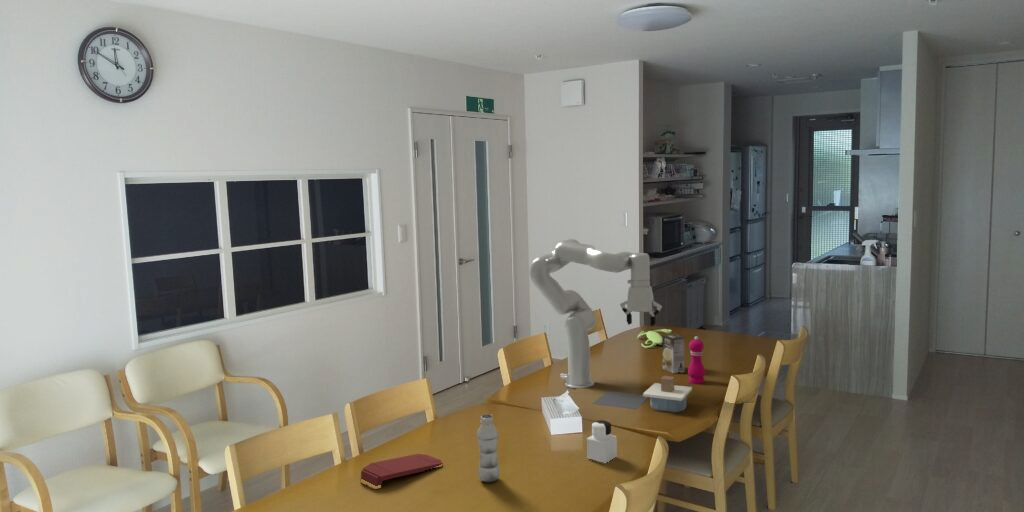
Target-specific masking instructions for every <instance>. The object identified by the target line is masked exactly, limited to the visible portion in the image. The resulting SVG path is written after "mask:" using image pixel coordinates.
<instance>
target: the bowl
mask: <svg viewBox="0 0 1024 512" xmlns="http://www.w3.org/2000/svg"><path fill="white" fill-rule="evenodd" d="M649 404H650V407H651V408H652V409H654V410H657V411H661V412H662V411H663V412H672V413H679V412H683V411H685V409H687V396H686V397H685V398H684V399H683V400H682V401H678V400H670V399H662V398H653V397H649Z"/></svg>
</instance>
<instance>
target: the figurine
mask: <svg viewBox="0 0 1024 512" xmlns="http://www.w3.org/2000/svg"><path fill="white" fill-rule="evenodd" d="M660 333H665V334H672V329H667V328H663V329H662V328H661V329H655V330H648V331H645V330H642V331H640V333H638V335H637V337H636V339H640V338H641V337H643V336H646V337H647V340H646V341H645V342H641V344H640V345H641V347H642V348H643V347H644V349H650V348H652V347H655V346H658V345H659V346H661V345H662V336H661V334H660Z"/></svg>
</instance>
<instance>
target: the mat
mask: <svg viewBox="0 0 1024 512" xmlns="http://www.w3.org/2000/svg"><path fill="white" fill-rule="evenodd" d="M648 398H649V397H645V396H643V394H639V393H630V392H629V393H628V392H621V391H612V390H607V391H606V392H605V393H604V394H602V395H600V396H599V397H598V399H596V400H594V401H593V402H592V403H591V404H592V405H597V406H598V405H599V406H605V407H612V408H613V407H615V408H623V409H629V410H637V409H638V408H639V407H640V406H641V405H643V403H645V402H646V401H647V400H648Z"/></svg>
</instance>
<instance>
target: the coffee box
mask: <svg viewBox="0 0 1024 512" xmlns="http://www.w3.org/2000/svg"><path fill="white" fill-rule="evenodd" d="M661 337H662V344H661V345H662V370H664V371H667V372H668V373H672V374H673V373H674V374H679V373H678V372H680V373H685V337H684V336H683V335H682V336H681V335H680V334H676V333H665V334H662V336H661Z"/></svg>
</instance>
